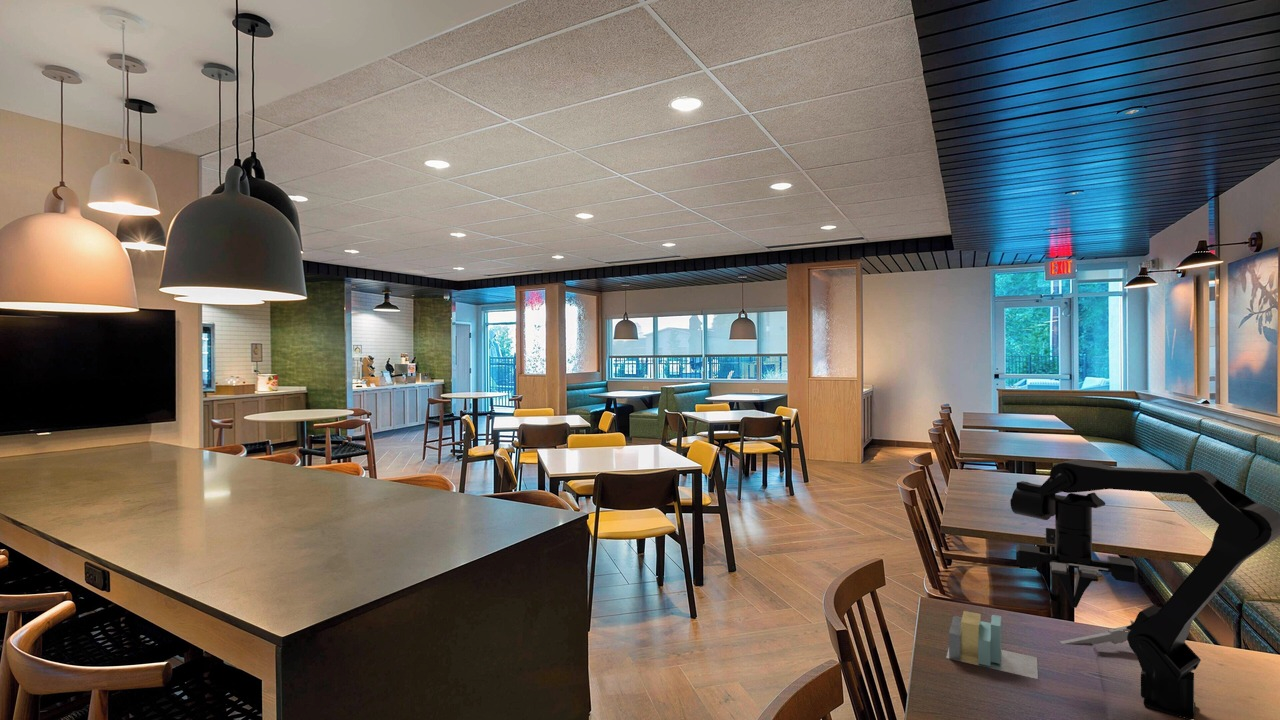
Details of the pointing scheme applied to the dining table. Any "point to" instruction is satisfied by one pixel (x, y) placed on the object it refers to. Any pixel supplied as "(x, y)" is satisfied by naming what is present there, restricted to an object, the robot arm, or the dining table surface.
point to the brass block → (970, 635)
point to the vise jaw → (990, 642)
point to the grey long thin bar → (1102, 637)
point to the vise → (1008, 662)
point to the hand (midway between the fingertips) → (1073, 606)
